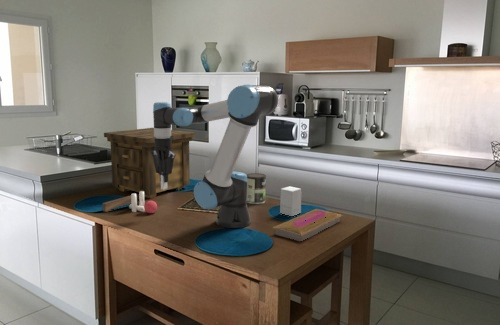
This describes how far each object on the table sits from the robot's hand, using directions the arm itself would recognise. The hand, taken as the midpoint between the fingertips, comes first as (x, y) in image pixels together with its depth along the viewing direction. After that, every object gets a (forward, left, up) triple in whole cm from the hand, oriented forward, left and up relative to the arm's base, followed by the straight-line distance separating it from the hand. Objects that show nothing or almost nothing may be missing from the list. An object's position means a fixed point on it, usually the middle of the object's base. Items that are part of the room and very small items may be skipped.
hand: (164, 188), depth 197 cm
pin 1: (+17, +2, -13) cm, 22 cm away
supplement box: (-46, -37, -13) cm, 60 cm away
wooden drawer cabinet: (+40, -32, -13) cm, 53 cm away
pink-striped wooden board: (-61, -25, -14) cm, 68 cm away
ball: (+9, 0, -10) cm, 14 cm away
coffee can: (-21, -46, -13) cm, 52 cm away
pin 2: (+17, -3, -13) cm, 22 cm away
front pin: (+14, 0, -12) cm, 18 cm away
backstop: (+28, +1, -13) cm, 31 cm away
